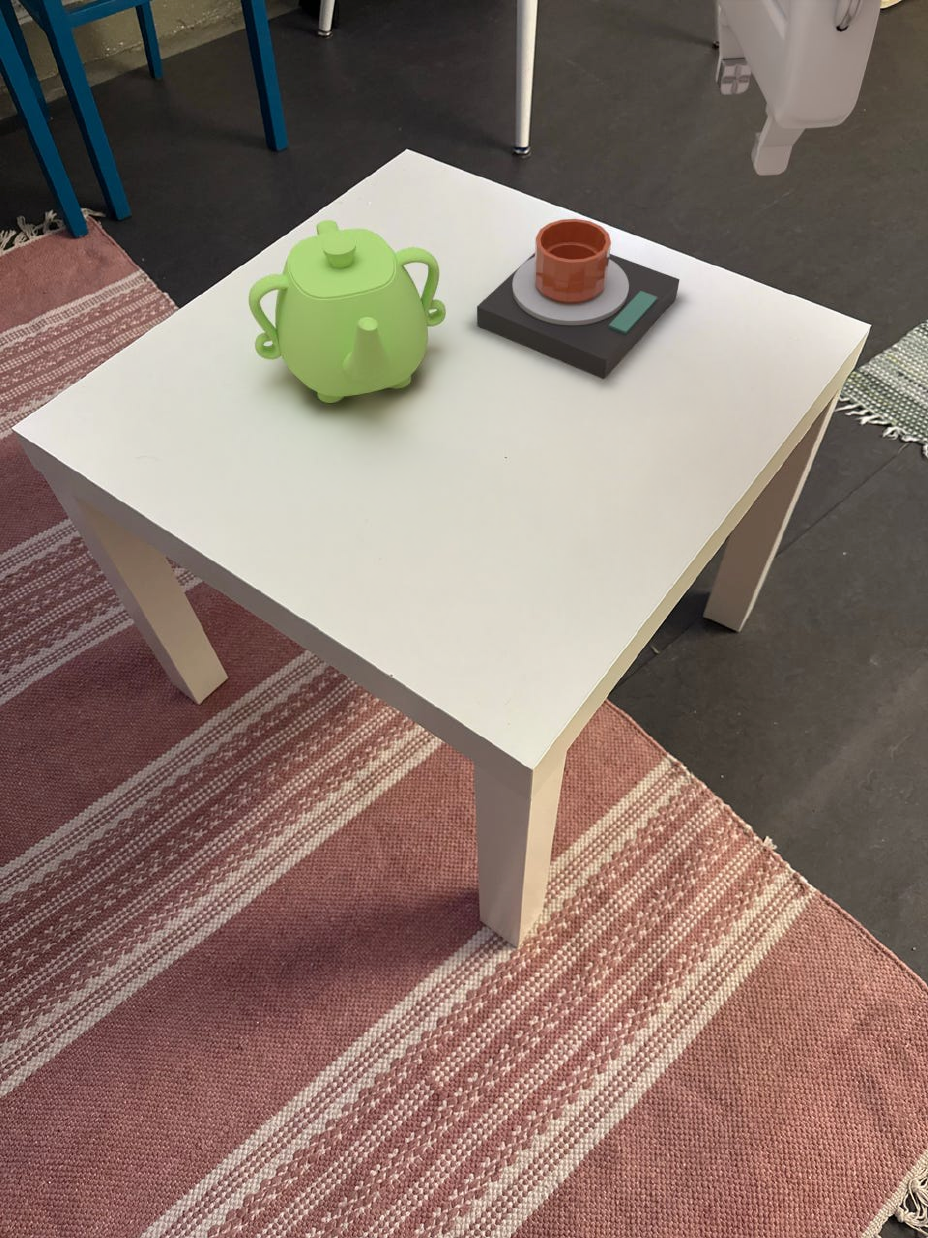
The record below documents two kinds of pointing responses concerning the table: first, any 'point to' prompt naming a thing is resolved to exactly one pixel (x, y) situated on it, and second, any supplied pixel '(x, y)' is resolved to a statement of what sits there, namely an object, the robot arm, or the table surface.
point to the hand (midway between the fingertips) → (747, 126)
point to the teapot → (348, 312)
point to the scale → (580, 315)
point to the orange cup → (571, 260)
